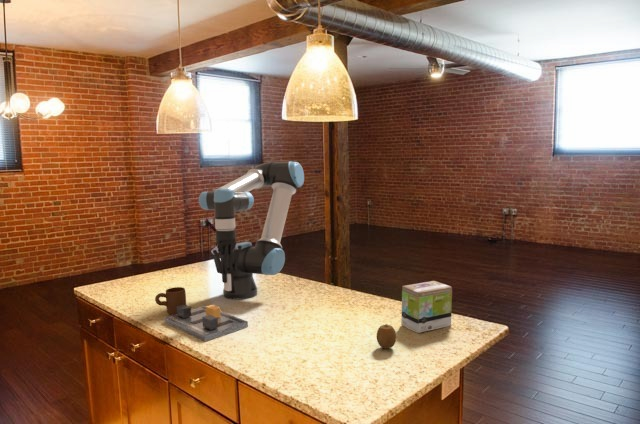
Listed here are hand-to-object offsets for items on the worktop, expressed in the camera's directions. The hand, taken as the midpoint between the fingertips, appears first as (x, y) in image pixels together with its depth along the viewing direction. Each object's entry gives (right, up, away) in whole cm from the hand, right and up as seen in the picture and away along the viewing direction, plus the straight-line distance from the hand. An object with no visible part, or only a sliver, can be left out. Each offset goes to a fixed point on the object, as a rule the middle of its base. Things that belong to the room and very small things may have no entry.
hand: (227, 290), depth 181 cm
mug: (-24, -11, +7) cm, 27 cm away
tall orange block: (-5, -9, -4) cm, 11 cm away
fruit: (+57, -14, -31) cm, 66 cm away
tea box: (+74, -11, -12) cm, 75 cm away
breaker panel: (-7, -12, -6) cm, 15 cm away
